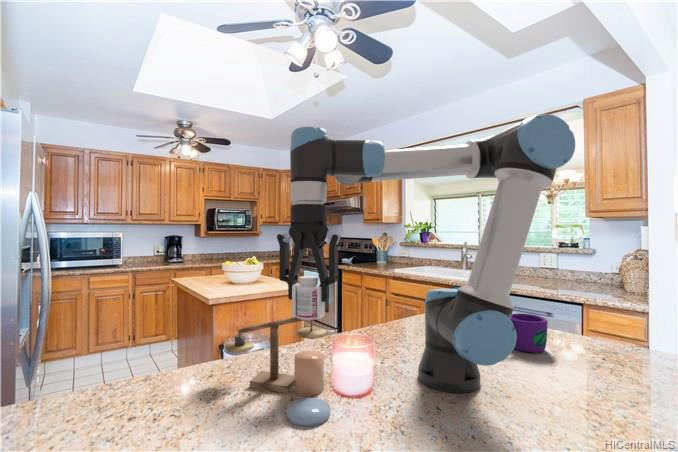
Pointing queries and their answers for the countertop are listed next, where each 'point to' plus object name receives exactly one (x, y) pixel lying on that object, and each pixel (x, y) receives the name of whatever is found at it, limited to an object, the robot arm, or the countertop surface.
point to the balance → (273, 353)
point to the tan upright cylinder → (309, 373)
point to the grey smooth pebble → (308, 412)
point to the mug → (530, 332)
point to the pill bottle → (307, 298)
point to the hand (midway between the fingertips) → (308, 316)
